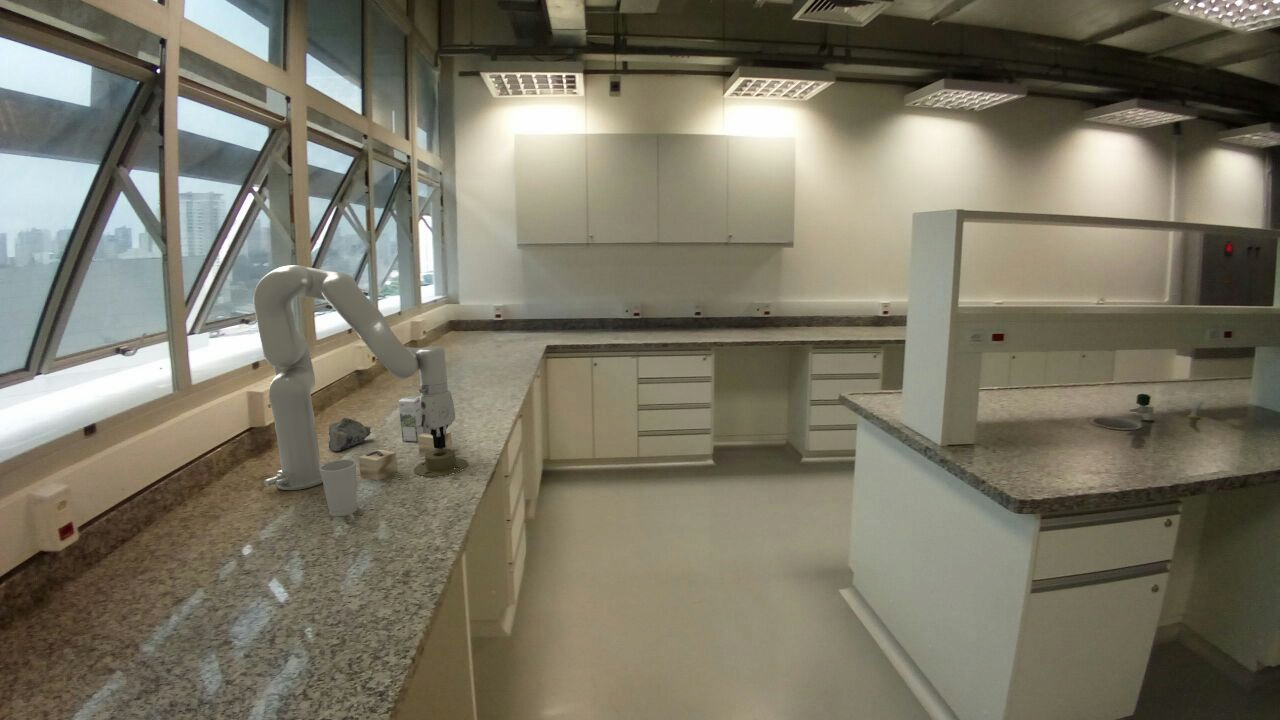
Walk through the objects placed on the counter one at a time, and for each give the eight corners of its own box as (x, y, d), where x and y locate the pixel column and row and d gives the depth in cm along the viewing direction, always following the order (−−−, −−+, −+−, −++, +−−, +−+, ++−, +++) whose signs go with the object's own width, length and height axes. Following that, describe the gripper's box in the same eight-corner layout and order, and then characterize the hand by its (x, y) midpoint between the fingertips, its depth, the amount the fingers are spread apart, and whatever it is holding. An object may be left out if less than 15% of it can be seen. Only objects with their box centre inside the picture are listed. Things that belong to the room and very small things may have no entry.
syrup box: (426, 436, 203) (422, 396, 200) (418, 442, 197) (414, 400, 194) (410, 436, 203) (406, 395, 201) (401, 442, 198) (397, 400, 195)
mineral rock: (371, 438, 202) (368, 410, 201) (373, 447, 193) (370, 418, 191) (329, 444, 197) (326, 415, 195) (329, 454, 187) (325, 424, 185)
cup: (366, 503, 150) (361, 458, 148) (352, 517, 142) (347, 470, 140) (334, 504, 150) (329, 459, 148) (319, 518, 142) (313, 471, 140)
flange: (476, 448, 178) (435, 443, 183) (444, 465, 164) (401, 459, 169) (477, 462, 178) (437, 457, 183) (446, 481, 165) (402, 475, 170)
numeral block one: (436, 456, 183) (434, 437, 182) (419, 453, 187) (417, 434, 185) (452, 449, 190) (450, 431, 188) (436, 446, 193) (434, 428, 191)
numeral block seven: (378, 480, 165) (375, 459, 164) (360, 476, 168) (358, 456, 167) (398, 471, 172) (395, 451, 170) (380, 468, 174) (378, 448, 173)
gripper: (424, 395, 165) (430, 457, 169) (462, 384, 178) (466, 441, 182) (405, 393, 169) (411, 454, 172) (443, 382, 182) (448, 438, 185)
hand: (439, 447), depth 177 cm, fingers closed
